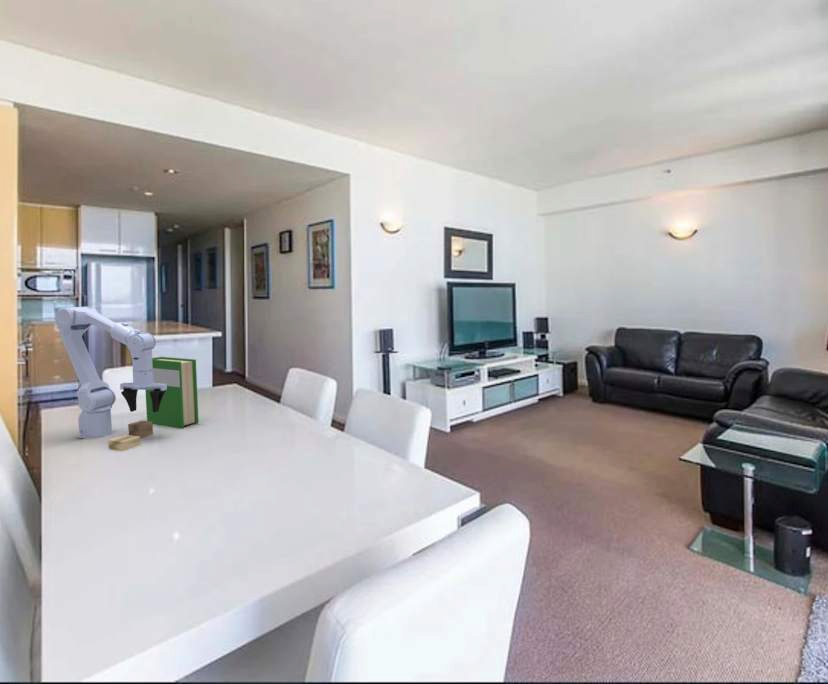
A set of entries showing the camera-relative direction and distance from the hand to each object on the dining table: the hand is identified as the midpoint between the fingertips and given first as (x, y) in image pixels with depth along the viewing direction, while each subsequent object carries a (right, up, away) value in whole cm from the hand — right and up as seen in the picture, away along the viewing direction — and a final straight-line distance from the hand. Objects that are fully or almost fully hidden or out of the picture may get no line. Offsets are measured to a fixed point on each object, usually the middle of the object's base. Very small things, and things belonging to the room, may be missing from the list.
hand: (144, 411), depth 157 cm
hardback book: (-1, -8, +20) cm, 22 cm away
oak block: (-1, -10, -9) cm, 13 cm away
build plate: (-2, -10, -9) cm, 14 cm away
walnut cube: (-3, -9, +3) cm, 10 cm away
